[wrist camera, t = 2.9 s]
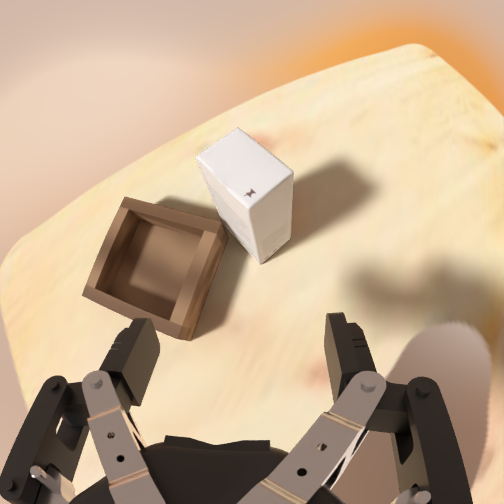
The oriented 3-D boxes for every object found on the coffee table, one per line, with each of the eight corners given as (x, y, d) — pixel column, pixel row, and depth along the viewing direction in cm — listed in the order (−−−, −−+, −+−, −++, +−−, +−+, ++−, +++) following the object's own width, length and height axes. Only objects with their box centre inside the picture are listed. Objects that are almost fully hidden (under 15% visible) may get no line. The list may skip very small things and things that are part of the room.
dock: (125, 208, 34) (110, 192, 30) (228, 237, 32) (221, 221, 28) (88, 296, 31) (68, 288, 27) (190, 341, 29) (177, 339, 25)
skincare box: (292, 238, 31) (297, 172, 20) (260, 266, 30) (247, 212, 19) (252, 199, 33) (238, 124, 22) (221, 224, 32) (191, 157, 21)
